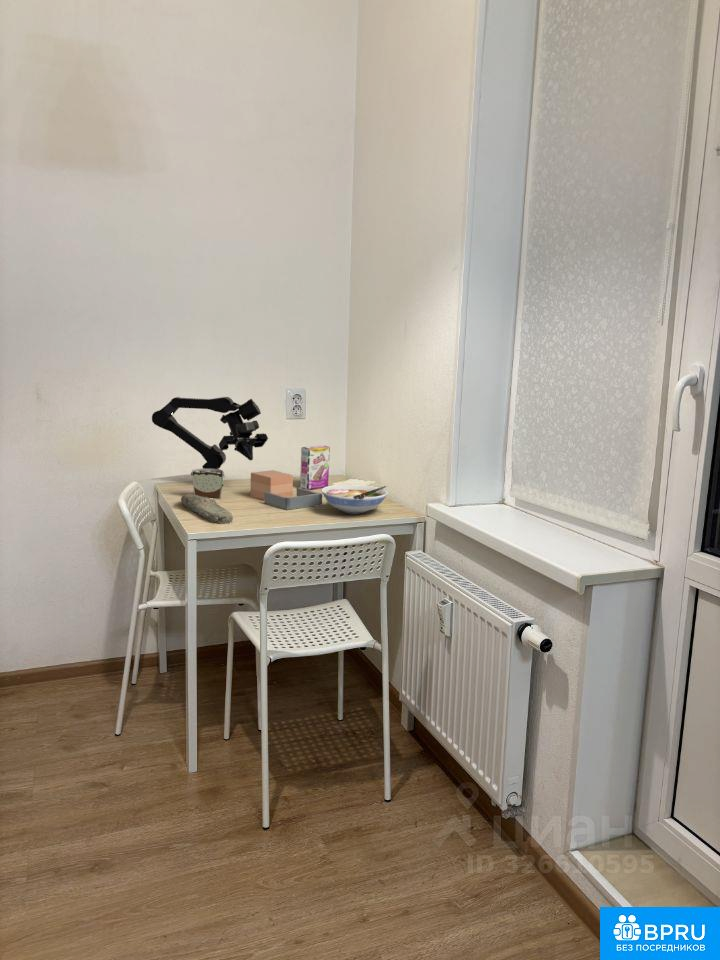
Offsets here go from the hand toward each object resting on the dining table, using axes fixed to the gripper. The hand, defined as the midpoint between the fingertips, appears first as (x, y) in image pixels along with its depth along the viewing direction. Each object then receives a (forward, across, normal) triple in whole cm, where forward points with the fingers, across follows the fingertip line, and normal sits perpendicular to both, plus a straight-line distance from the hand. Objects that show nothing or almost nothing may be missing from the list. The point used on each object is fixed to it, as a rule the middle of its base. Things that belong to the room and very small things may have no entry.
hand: (251, 459), depth 291 cm
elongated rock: (+24, -31, -7) cm, 40 cm away
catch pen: (+26, +1, -10) cm, 28 cm away
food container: (+9, -18, +8) cm, 22 cm away
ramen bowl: (+41, +12, -25) cm, 49 cm away
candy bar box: (+13, +26, +5) cm, 29 cm away
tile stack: (+18, +1, -1) cm, 18 cm away
